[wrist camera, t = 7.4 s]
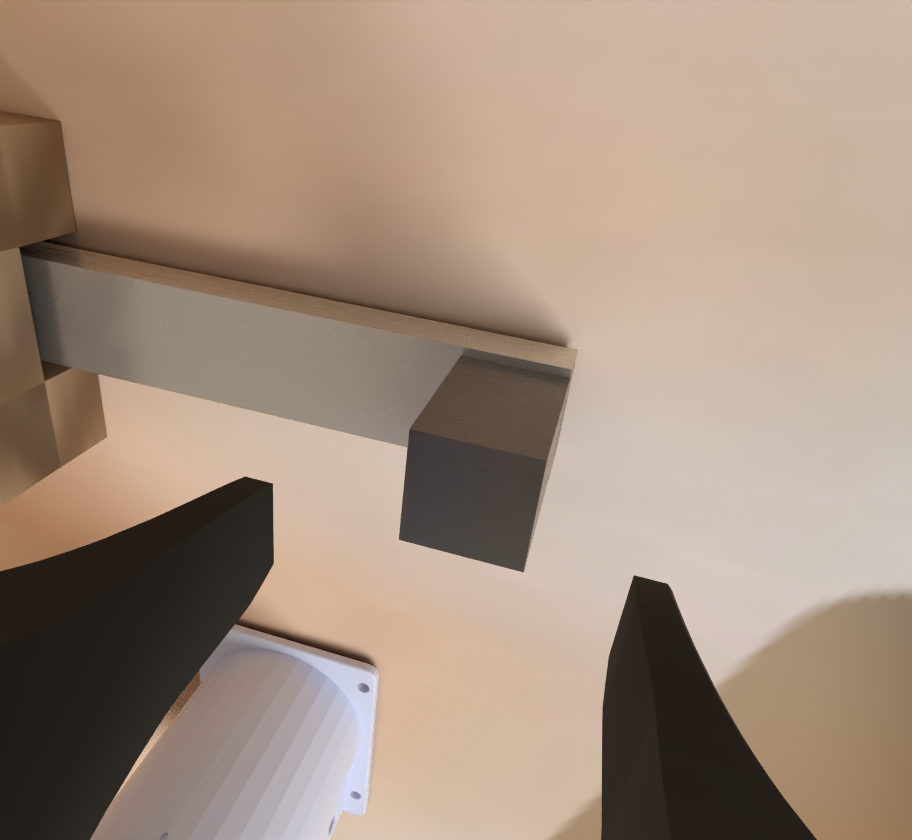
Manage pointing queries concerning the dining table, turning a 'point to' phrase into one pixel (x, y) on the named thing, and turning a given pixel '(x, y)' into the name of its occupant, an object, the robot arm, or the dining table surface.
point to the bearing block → (11, 324)
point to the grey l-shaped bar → (329, 381)
